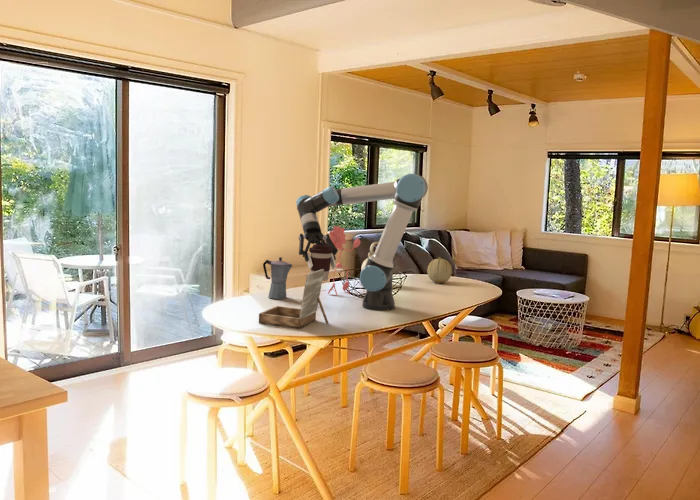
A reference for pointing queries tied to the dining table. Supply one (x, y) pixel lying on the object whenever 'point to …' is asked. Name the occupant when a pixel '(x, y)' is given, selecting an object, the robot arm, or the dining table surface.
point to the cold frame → (294, 315)
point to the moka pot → (278, 278)
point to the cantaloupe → (439, 270)
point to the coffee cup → (321, 258)
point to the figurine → (339, 239)
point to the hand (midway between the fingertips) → (322, 267)
